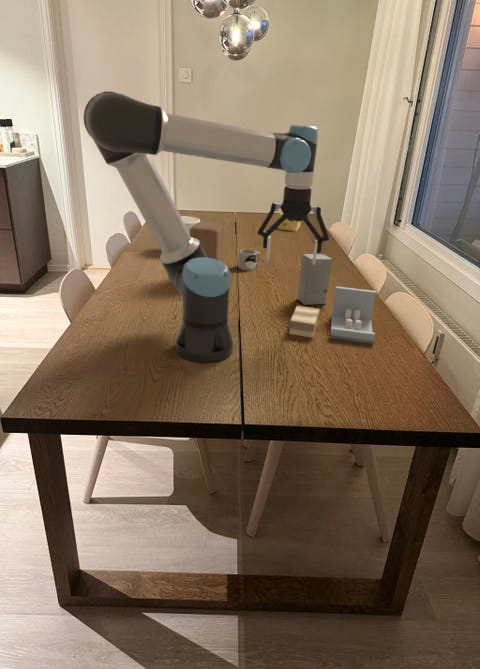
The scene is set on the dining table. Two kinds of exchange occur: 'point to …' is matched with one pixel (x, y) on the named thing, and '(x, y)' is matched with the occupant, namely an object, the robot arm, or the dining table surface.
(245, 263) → the mug
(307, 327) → the slab
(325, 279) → the skincare box
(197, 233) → the wooden block
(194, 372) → the dining table surface
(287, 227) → the cheese
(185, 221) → the cup
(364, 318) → the cradle
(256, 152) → the robot arm
